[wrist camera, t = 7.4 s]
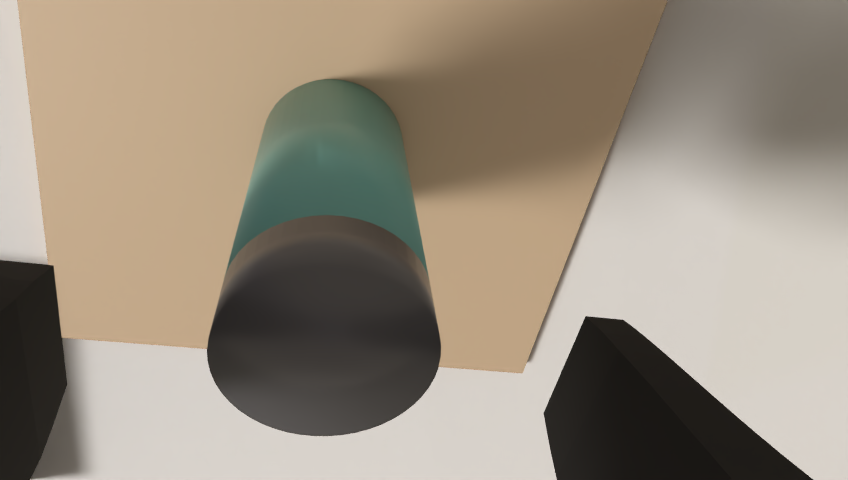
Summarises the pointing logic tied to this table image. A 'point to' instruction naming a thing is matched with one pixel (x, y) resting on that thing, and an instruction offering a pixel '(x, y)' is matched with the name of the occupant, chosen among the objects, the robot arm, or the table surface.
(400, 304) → the cylindrical container
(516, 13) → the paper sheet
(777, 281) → the table surface
